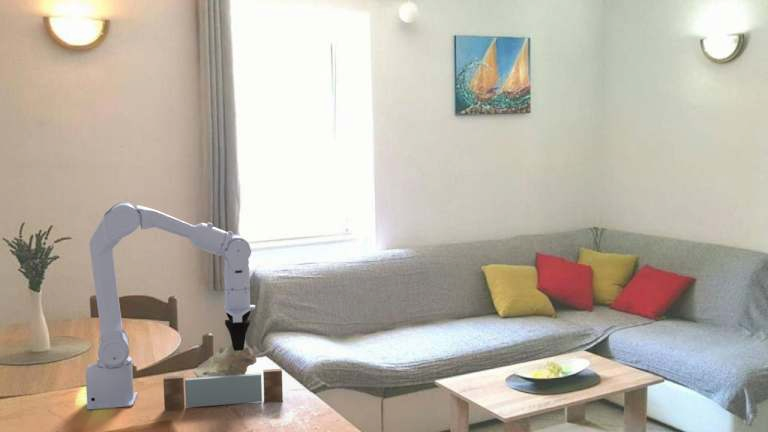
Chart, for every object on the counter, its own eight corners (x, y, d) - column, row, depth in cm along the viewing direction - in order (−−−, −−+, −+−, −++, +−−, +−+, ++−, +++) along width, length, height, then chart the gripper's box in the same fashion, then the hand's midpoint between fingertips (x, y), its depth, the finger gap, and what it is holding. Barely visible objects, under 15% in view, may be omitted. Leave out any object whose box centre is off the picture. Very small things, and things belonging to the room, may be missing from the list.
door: (185, 407, 154) (184, 380, 153) (186, 405, 155) (185, 378, 154) (261, 401, 157) (261, 374, 156) (261, 399, 158) (261, 373, 157)
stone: (255, 399, 159) (254, 355, 158) (190, 402, 158) (188, 358, 157) (258, 383, 170) (257, 342, 169) (196, 386, 168) (195, 344, 167)
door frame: (164, 410, 153) (163, 379, 152) (165, 408, 154) (164, 376, 154) (282, 401, 158) (281, 370, 157) (282, 399, 159) (281, 368, 158)
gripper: (255, 293, 159) (256, 353, 160) (254, 281, 173) (256, 335, 174) (222, 295, 157) (224, 355, 159) (224, 282, 172) (226, 337, 173)
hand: (238, 345), depth 167 cm, fingers open, 7 cm apart
